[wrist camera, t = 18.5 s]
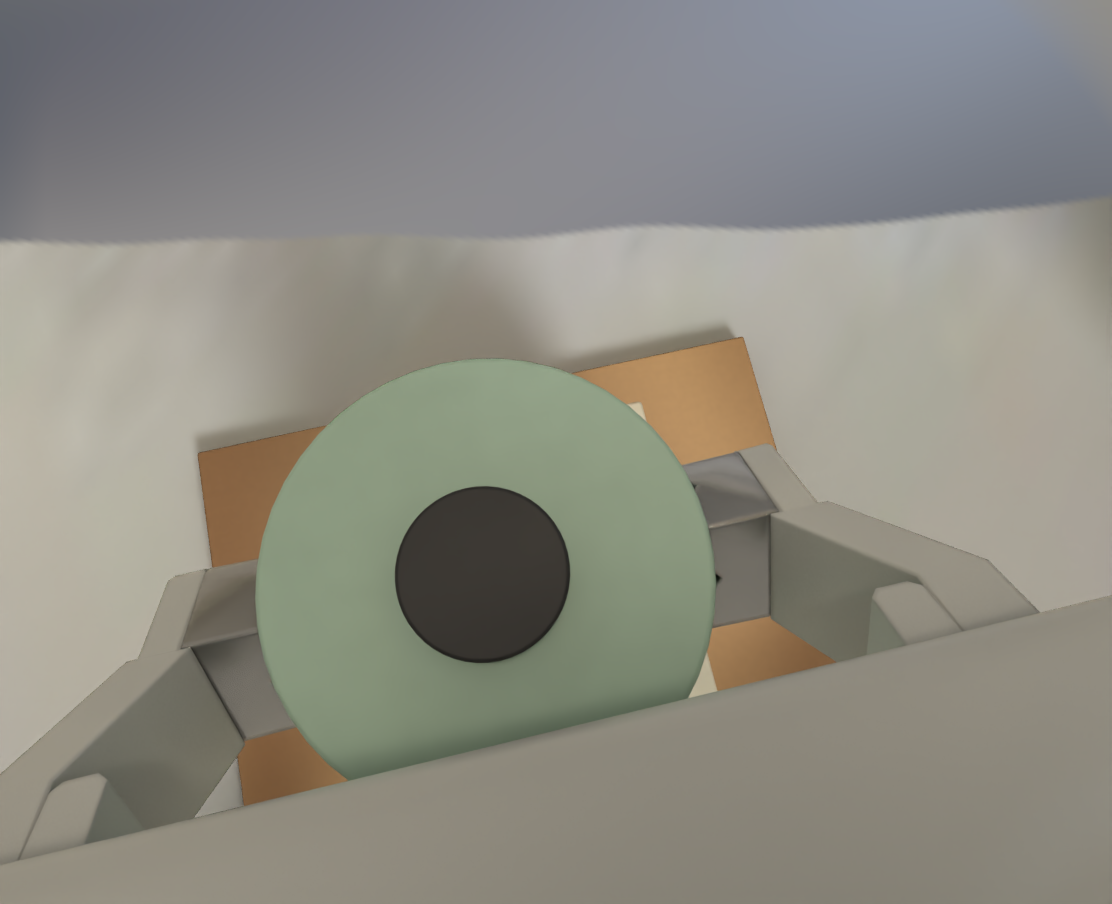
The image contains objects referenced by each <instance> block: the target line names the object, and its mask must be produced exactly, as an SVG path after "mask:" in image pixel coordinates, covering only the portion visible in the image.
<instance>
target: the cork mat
mask: <svg viewBox="0 0 1112 904" xmlns="http://www.w3.org/2000/svg"><path fill="white" fill-rule="evenodd" d="M571 374H573V375H576V376H579V377H581V378H583V379H585V380H587V381H589V382H591V383H593V384H595V385H597V386H599V387H601V388H603V389H605V390H606V391H608V392H609V393H611V394H612V395H614V396H615V397H617V398H618V399H619V400H621V401H622V402H624V403H625V404H629V403H634V402H641V404H642V406H643V410H644V413H645V417H646V421H647V423H649V424H650V425H651V426H652V427H653V429H654V430H655V431H656V432H657V433H658V434H659V436H660V437H661V438H662V439H663V440H664V441H665V443H666V444H667V445H668V446H669V447H670V449H671V450H672V452H673V453H674V455H675V456H676V458H677V459H678V461H679V462H680V464H681V465H683V464H687V463H691V462H695V461H700V460H704V459H708V458H712V457H717V456H721V455H725V454H729V453H734V451H738V450H742V449H746V448H750V447H754V446H757V445H761V444H765V443H767V444H770V445H772V446H773V447H774V448H775V450H776V451H777V449H776V446H775V443H774V439H773V436H772V433H771V429H770V426H769V422H768V419H767V416H766V412H765V409H764V406H763V402H762V399H761V395H760V392H759V389H758V385H757V382H756V378H755V375H754V372H753V368H752V365H751V362H750V358H749V355H748V351H747V348H746V345H745V341H744V338H743V337H738V338H734V339H729V340H724V341H720V342H715V343H710V344H706V345H701V346H696V347H692V348H687V349H682V350H677V351H673V352H668V353H663V354H659V355H654V356H649V357H645V358H640V359H635V360H631V361H626V362H621V363H617V364H612V365H607V366H603V367H598V368H593V369H588V370H584V371H579V372H574V373H571ZM326 426H327V425H326ZM326 426H321V427H317V428H312V429H307V430H303V431H298V432H293V433H289V434H284V435H279V436H275V437H270V438H265V439H260V440H256V441H251V442H246V443H242V444H237V445H232V446H228V447H223V448H218V449H214V450H209V451H204V452H200V453H198V461H199V469H200V476H201V484H202V492H203V499H204V507H205V514H206V522H207V529H208V537H209V545H210V552H211V560H212V567H218V566H223V565H228V564H233V563H238V562H243V561H248V560H253V559H258V558H259V553H260V548H261V542H262V537H263V534H264V531H265V528H266V525H267V522H268V519H269V515H270V512H271V509H272V507H273V505H274V503H275V501H276V498H277V496H278V494H279V492H280V490H281V488H282V486H283V483H284V481H285V480H286V478H287V477H288V475H289V473H290V472H291V470H292V469H293V467H294V466H295V464H296V462H297V461H298V459H299V458H300V456H301V455H302V454H303V452H304V451H305V450H306V449H307V448H308V446H309V445H310V444H311V443H312V441H313V440H314V439H315V438H316V437H317V435H318V434H319V433H320V432H321V431H322V430H323V429H324V428H325V427H326ZM707 653H708V657H709V661H710V665H711V669H712V672H713V676H714V680H715V684H716V688H717V691H720V690H724V689H728V688H733V687H737V686H741V685H745V684H749V683H753V682H757V681H762V680H766V679H770V678H774V677H778V676H782V675H786V674H791V673H795V672H799V671H803V670H807V669H811V668H815V667H819V666H824V665H828V664H832V663H836V661H834V660H833V659H831V658H830V657H828V656H827V655H825V654H824V653H822V652H820V651H819V650H817V649H816V648H814V647H813V646H811V645H810V644H808V643H807V642H805V641H804V640H802V639H801V638H799V637H798V636H796V635H795V634H793V633H792V632H790V631H788V630H787V629H785V628H784V627H782V626H781V625H779V624H778V623H776V622H775V621H773V620H772V619H771V616H769V617H765V618H760V619H755V620H750V621H745V622H741V623H736V624H731V625H726V626H722V627H717V628H712V631H711V637H710V642H709V647H708V650H707ZM244 742H245V746H244V747H243V749H242V750H241V751H240V753H239V754H238V756H237V757H238V765H239V772H240V780H241V787H242V795H243V803H244V806H247V805H251V804H255V803H259V802H263V801H267V800H271V799H275V798H280V797H284V796H288V795H292V794H296V793H300V792H304V791H308V790H313V789H317V788H321V787H325V786H329V785H333V784H337V783H341V782H346V781H348V780H347V779H346V778H344V777H343V776H342V775H341V774H339V773H338V772H337V771H336V770H334V769H333V768H332V767H331V766H329V765H328V764H327V763H326V762H325V761H324V759H323V758H322V757H321V756H320V755H319V754H318V753H317V752H316V751H315V750H314V749H313V748H312V747H311V746H310V745H309V744H308V742H307V741H306V740H305V738H304V737H303V736H302V734H301V733H300V731H299V730H298V729H297V727H296V728H292V729H289V730H285V731H281V732H277V733H274V734H270V735H266V736H262V737H259V738H255V739H251V740H247V741H244Z"/></svg>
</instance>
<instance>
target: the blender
mask: <svg viewBox="0 0 1112 904" xmlns="http://www.w3.org/2000/svg"><path fill="white" fill-rule="evenodd" d="M715 598H716V575H715V561H714V552H713V547H712V542H711V538H710V533H709V529H708V524H707V521H706V518H705V515H704V512H703V509H702V506H701V503H700V501H699V498H698V496H697V494H696V492H695V489H694V487H693V485H692V483H691V481H690V479H689V477H688V475H687V473H686V471H685V470H684V468H683V467H682V465H681V464H680V462H679V461H678V459H677V458H676V456H675V455H674V453H673V452H672V450H671V449H670V447H669V446H668V445H667V444H666V443H665V441H664V440H663V439H662V438H661V437H660V436H659V434H658V433H657V432H656V431H655V430H654V429H653V427H652V426H651V425H650V424H649V423H647V421H646V417H645V413H644V410H643V406H642V404H641V402H634V403H629V404H625V403H624V402H622V401H621V400H619V399H618V398H617V397H615V396H614V395H612V394H611V393H609V392H608V391H606V390H605V389H603V388H601V387H599V386H597V385H595V384H593V383H591V382H589V381H587V380H585V379H583V378H581V377H579V376H576V375H573V374H571V373H568V372H565V371H562V370H560V369H557V368H554V367H550V366H545V365H541V364H537V363H532V362H528V361H520V360H510V359H500V358H495V359H468V360H461V361H454V362H447V363H442V364H438V365H434V366H431V367H427V368H423V369H420V370H416V371H413V372H411V373H409V374H406V375H404V376H401V377H399V378H397V379H394V380H392V381H389V382H387V383H386V384H384V385H382V386H380V387H379V388H377V389H375V390H373V391H372V392H370V393H368V394H366V395H364V396H363V397H362V398H360V399H359V400H357V401H356V402H355V403H353V404H352V405H351V406H349V407H348V408H347V409H345V410H344V411H343V412H341V413H340V414H339V415H338V416H337V417H336V418H335V419H334V420H333V421H332V422H331V423H330V424H328V425H327V426H326V427H325V428H324V429H323V430H322V431H321V432H320V433H319V434H318V435H317V437H316V438H315V439H314V440H313V441H312V443H311V444H310V445H309V446H308V448H307V449H306V450H305V451H304V452H303V454H302V455H301V456H300V458H299V459H298V461H297V462H296V464H295V466H294V467H293V469H292V470H291V472H290V473H289V475H288V477H287V478H286V480H285V481H284V483H283V486H282V488H281V490H280V492H279V494H278V496H277V498H276V501H275V503H274V505H273V507H272V509H271V512H270V515H269V519H268V522H267V525H266V528H265V531H264V534H263V537H262V542H261V548H260V553H259V559H258V564H257V574H256V592H255V603H256V616H257V628H258V634H259V638H260V643H261V648H262V653H263V657H264V661H265V664H266V666H267V669H268V672H269V675H270V678H271V681H272V683H273V686H274V689H275V691H276V693H277V695H278V696H279V698H280V700H281V702H282V704H283V706H284V708H285V710H286V712H287V714H288V716H289V717H290V719H291V720H292V722H293V723H294V724H295V726H296V727H297V729H298V730H299V731H300V733H301V734H302V736H303V737H304V738H305V740H306V741H307V742H308V744H309V745H310V746H311V747H312V748H313V749H314V750H315V751H316V752H317V753H318V754H319V755H320V756H321V757H322V758H323V759H324V761H325V762H326V763H327V764H328V765H329V766H331V767H332V768H333V769H334V770H336V771H337V772H338V773H339V774H341V775H342V776H343V777H344V778H346V779H347V780H348V781H350V780H354V779H358V778H362V777H366V776H370V775H375V774H379V773H383V772H387V771H391V770H395V769H399V768H403V767H408V766H412V765H416V764H420V763H424V762H428V761H432V760H436V759H440V758H444V757H449V756H453V755H457V754H461V753H465V752H469V751H473V750H477V749H481V748H485V747H490V746H494V745H498V744H502V743H506V742H510V741H514V740H518V739H522V738H526V737H530V736H535V735H539V734H543V733H547V732H551V731H555V730H559V729H563V728H567V727H571V726H575V725H580V724H584V723H588V722H592V721H596V720H600V719H604V718H608V717H613V716H617V715H621V714H625V713H629V712H633V711H637V710H642V709H646V708H650V707H654V706H658V705H662V704H666V703H671V702H675V701H679V700H683V699H687V698H691V697H695V696H699V695H704V694H708V693H712V692H716V691H717V688H716V684H715V680H714V676H713V672H712V669H711V665H710V661H709V657H708V653H707V650H708V647H709V642H710V637H711V631H712V626H713V621H714V615H715Z"/></svg>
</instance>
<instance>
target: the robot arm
mask: <svg viewBox="0 0 1112 904" xmlns="http://www.w3.org/2000/svg"><path fill="white" fill-rule="evenodd" d="M682 467H683V468H684V470H685V471H686V473H687V475H688V477H689V479H690V481H691V483H692V485H693V487H694V489H695V492H696V494H697V496H698V498H699V501H700V503H701V506H702V509H703V512H704V515H705V518H706V521H707V524H708V529H709V533H710V538H711V542H712V547H713V552H714V561H715V575H716V598H715V615H714V621H713V626H712V628H717V627H722V626H726V625H731V624H736V623H741V622H745V621H750V620H755V619H760V618H765V617H769V616H771V619H772V620H773V621H775V622H776V623H778V624H779V625H781V626H782V627H784V628H785V629H787V630H788V631H790V632H792V633H793V634H795V635H796V636H798V637H799V638H801V639H802V640H804V641H805V642H807V643H808V644H810V645H811V646H813V647H814V648H816V649H817V650H819V651H820V652H822V653H824V654H825V655H827V656H828V657H830V658H831V659H833V660H834V661H836V663H832V664H828V665H824V666H819V667H815V668H811V669H807V670H803V671H799V672H795V673H791V674H786V675H782V676H778V677H774V678H770V679H766V680H762V681H757V682H753V683H749V684H745V685H741V686H737V687H733V688H728V689H724V690H720V691H716V692H712V693H708V694H704V695H699V696H695V697H691V698H687V699H683V700H679V701H675V702H671V703H666V704H662V705H658V706H654V707H650V708H646V709H642V710H637V711H633V712H629V713H625V714H621V715H617V716H613V717H608V718H604V719H600V720H596V721H592V722H588V723H584V724H580V725H575V726H571V727H567V728H563V729H559V730H555V731H551V732H547V733H543V734H539V735H535V736H530V737H526V738H522V739H518V740H514V741H510V742H506V743H502V744H498V745H494V746H490V747H485V748H481V749H477V750H473V751H469V752H465V753H461V754H457V755H453V756H449V757H444V758H440V759H436V760H432V761H428V762H424V763H420V764H416V765H412V766H408V767H403V768H399V769H395V770H391V771H387V772H383V773H379V774H375V775H370V776H366V777H362V778H358V779H354V780H350V781H346V782H341V783H337V784H333V785H329V786H325V787H321V788H317V789H313V790H308V791H304V792H300V793H296V794H292V795H288V796H284V797H280V798H275V799H271V800H267V801H263V802H259V803H255V804H251V805H247V806H242V807H238V808H234V809H230V810H226V811H222V812H218V813H213V814H209V815H205V816H201V817H197V818H194V817H195V815H196V814H197V813H198V811H199V810H200V808H201V807H202V806H203V804H204V803H205V801H206V800H207V798H208V797H209V796H210V794H211V793H212V791H213V790H214V788H215V787H216V786H217V784H218V783H219V781H220V780H221V779H222V777H223V776H224V774H225V773H226V771H227V770H228V769H229V767H230V766H231V764H232V763H233V761H234V760H235V759H236V757H237V756H238V754H239V753H240V751H241V750H242V749H243V747H244V746H245V742H244V741H247V740H251V739H255V738H259V737H262V736H266V735H270V734H274V733H277V732H281V731H285V730H289V729H292V728H296V726H295V724H294V723H293V722H292V720H291V719H290V717H289V716H288V714H287V712H286V710H285V708H284V706H283V704H282V702H281V700H280V698H279V696H278V695H277V693H276V691H275V689H274V686H273V683H272V681H271V678H270V675H269V672H268V669H267V666H266V664H265V661H264V657H263V653H262V648H261V643H260V638H259V634H258V628H257V616H256V603H255V592H256V574H257V564H258V559H259V558H258V559H253V560H248V561H243V562H238V563H233V564H228V565H223V566H218V567H213V568H210V569H204V570H199V571H195V572H190V573H186V574H182V575H177V576H175V577H173V578H172V579H170V580H169V581H168V583H167V585H166V587H165V590H164V592H163V595H162V598H161V600H160V603H159V605H158V608H157V611H156V613H155V616H154V618H153V621H152V624H151V626H150V629H149V631H148V634H147V636H146V639H145V642H144V644H143V647H142V649H141V652H140V655H139V657H138V659H136V660H132V661H128V662H126V663H125V664H124V665H123V666H121V667H120V668H119V669H118V670H117V671H116V672H115V673H114V674H112V675H111V676H110V677H109V678H108V679H107V680H106V681H105V682H103V683H102V684H101V685H100V686H99V687H98V688H97V689H96V690H94V691H93V692H92V693H91V694H90V695H89V696H88V697H87V698H85V699H84V700H83V701H82V702H81V703H80V704H79V705H78V706H76V707H75V708H74V709H73V710H72V711H71V712H70V713H69V714H67V715H66V716H65V717H64V718H63V719H62V720H61V721H60V722H58V723H57V724H56V725H55V726H54V727H53V728H52V729H51V730H49V731H48V732H47V733H46V734H45V735H44V736H43V737H42V738H40V739H39V740H38V741H37V742H36V743H35V744H34V745H33V746H31V747H30V748H29V749H28V750H27V751H26V752H25V753H24V754H22V755H21V756H20V757H19V758H18V759H17V760H16V761H15V762H13V763H12V764H11V765H10V766H9V767H8V768H7V769H6V770H4V771H3V772H2V773H1V774H0V904H1112V595H1111V596H1107V597H1103V598H1099V599H1095V600H1091V601H1086V602H1082V603H1078V604H1074V605H1070V606H1066V607H1062V608H1058V609H1054V610H1049V611H1045V612H1041V613H1040V612H1039V611H1038V610H1037V609H1036V608H1035V607H1034V606H1033V605H1032V604H1031V603H1030V602H1029V601H1028V600H1027V599H1026V598H1025V597H1024V596H1023V595H1022V594H1021V593H1020V592H1019V591H1018V590H1017V589H1016V588H1015V587H1014V586H1013V585H1012V584H1011V583H1010V582H1009V581H1008V580H1007V579H1006V578H1005V577H1004V576H1003V575H1002V573H1001V572H1000V571H999V570H998V569H997V568H996V567H995V566H994V565H993V564H992V563H991V562H990V561H989V560H987V559H984V558H981V557H979V556H976V555H973V554H970V553H968V552H965V551H962V550H960V549H957V548H954V547H951V546H949V545H946V544H943V543H941V542H938V541H935V540H932V539H930V538H927V537H924V536H922V535H919V534H916V533H913V532H911V531H908V530H905V529H902V528H900V527H897V526H894V525H892V524H889V523H886V522H883V521H881V520H878V519H875V518H873V517H870V516H867V515H864V514H862V513H859V512H856V511H854V510H851V509H848V508H845V507H843V506H840V505H837V504H835V503H832V502H829V501H826V502H821V503H818V502H817V501H816V500H815V498H814V497H813V496H812V495H811V493H810V492H809V491H808V490H807V488H806V487H805V486H804V485H803V483H802V482H801V481H800V480H799V478H798V477H797V476H796V475H795V473H794V472H793V471H792V470H791V468H790V467H789V466H788V465H787V463H786V462H785V461H784V460H783V458H782V457H781V456H780V455H779V453H778V452H777V451H776V450H775V448H774V447H773V446H772V445H770V444H767V443H765V444H761V445H757V446H754V447H750V448H746V449H742V450H738V451H734V453H729V454H725V455H721V456H717V457H712V458H708V459H704V460H700V461H695V462H691V463H687V464H683V465H682Z"/></svg>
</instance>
